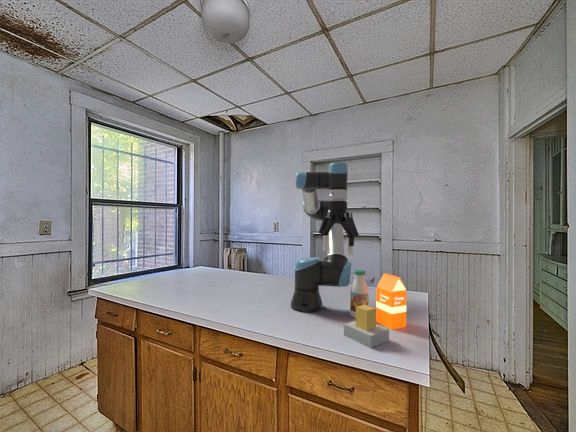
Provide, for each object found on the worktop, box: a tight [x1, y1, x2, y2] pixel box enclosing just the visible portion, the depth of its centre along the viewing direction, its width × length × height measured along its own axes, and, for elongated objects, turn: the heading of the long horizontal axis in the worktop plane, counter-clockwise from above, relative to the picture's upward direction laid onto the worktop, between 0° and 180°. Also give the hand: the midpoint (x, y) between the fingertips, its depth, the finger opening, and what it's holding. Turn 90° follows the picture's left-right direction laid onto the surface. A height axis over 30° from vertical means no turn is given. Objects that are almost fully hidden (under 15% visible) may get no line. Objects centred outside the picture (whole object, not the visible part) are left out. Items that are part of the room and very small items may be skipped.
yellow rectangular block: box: [355, 305, 377, 331], centre depth 99 cm, size 5×5×7 cm
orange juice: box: [375, 272, 407, 330], centre depth 112 cm, size 8×9×20 cm
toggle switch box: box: [343, 320, 390, 349], centre depth 99 cm, size 12×10×8 cm
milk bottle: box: [349, 269, 370, 319], centre depth 121 cm, size 8×8×20 cm
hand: (337, 252), depth 113 cm, fingers open, 13 cm apart
